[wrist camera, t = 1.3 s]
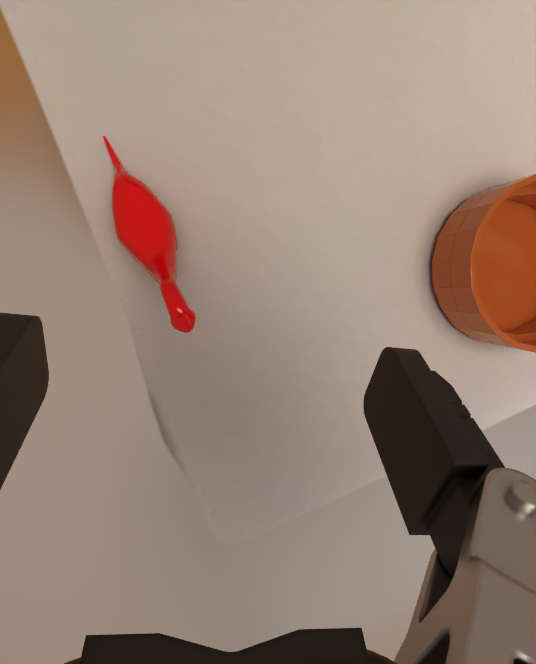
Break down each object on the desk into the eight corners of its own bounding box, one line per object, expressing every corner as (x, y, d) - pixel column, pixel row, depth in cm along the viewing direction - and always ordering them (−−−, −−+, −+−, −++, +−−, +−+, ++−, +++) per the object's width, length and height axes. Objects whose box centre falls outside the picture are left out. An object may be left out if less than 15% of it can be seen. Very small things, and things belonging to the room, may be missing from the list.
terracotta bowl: (542, 354, 42) (599, 366, 36) (412, 326, 39) (451, 334, 33) (580, 210, 41) (646, 198, 35) (449, 170, 38) (497, 150, 32)
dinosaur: (128, 127, 33) (92, 38, 21) (211, 305, 36) (222, 318, 24) (79, 146, 33) (14, 67, 20) (167, 325, 35) (155, 349, 23)
